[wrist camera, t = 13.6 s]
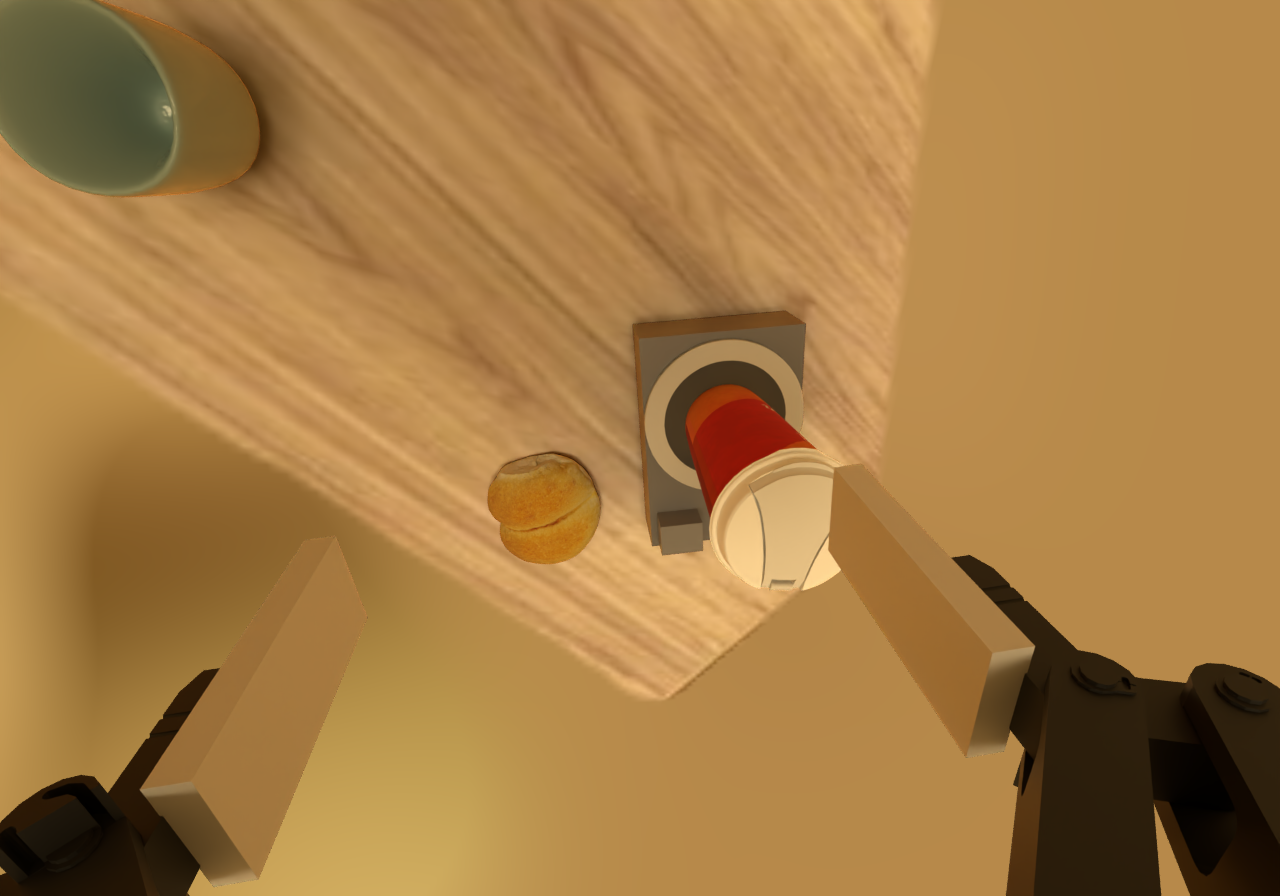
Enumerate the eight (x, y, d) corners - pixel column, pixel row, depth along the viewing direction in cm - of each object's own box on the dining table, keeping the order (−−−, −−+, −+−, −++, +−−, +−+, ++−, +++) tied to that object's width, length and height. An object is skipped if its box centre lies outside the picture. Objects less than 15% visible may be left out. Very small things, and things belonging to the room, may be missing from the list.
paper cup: (767, 475, 43) (850, 603, 30) (662, 469, 41) (703, 600, 29) (791, 370, 39) (896, 465, 27) (678, 361, 38) (731, 455, 26)
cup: (111, 30, 32) (-70, -26, 23) (266, 41, 33) (151, -8, 24) (154, 188, 35) (10, 194, 26) (293, 194, 36) (201, 202, 27)
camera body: (632, 324, 42) (642, 347, 36) (785, 310, 42) (817, 331, 37) (646, 518, 48) (655, 561, 43) (777, 503, 49) (803, 544, 44)
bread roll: (515, 559, 49) (510, 590, 46) (478, 466, 45) (470, 492, 42) (611, 535, 49) (615, 564, 46) (583, 440, 45) (585, 464, 42)
